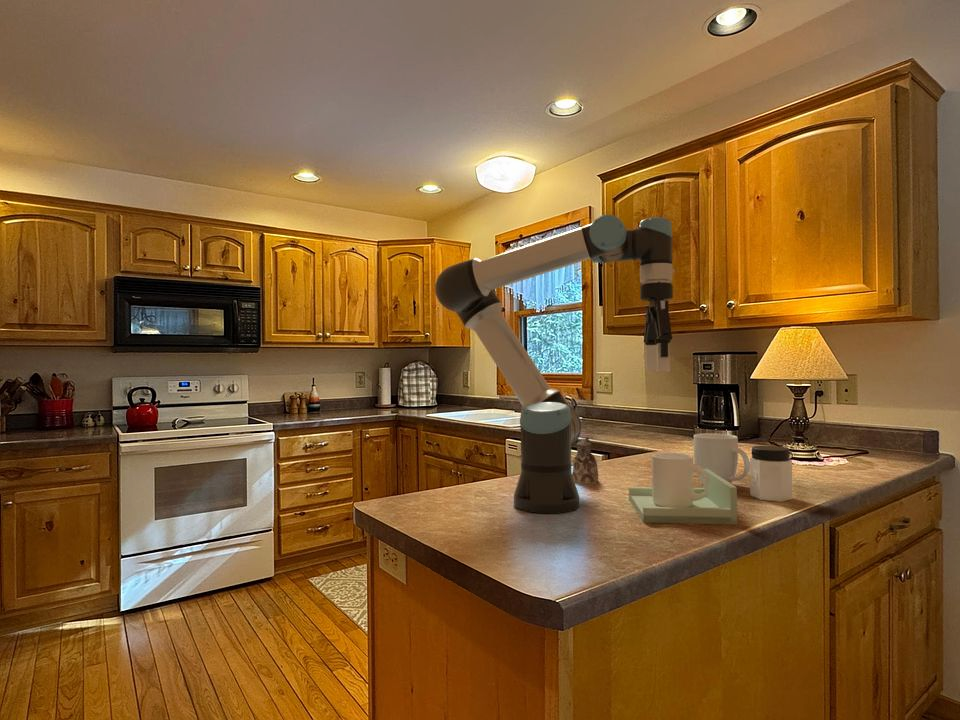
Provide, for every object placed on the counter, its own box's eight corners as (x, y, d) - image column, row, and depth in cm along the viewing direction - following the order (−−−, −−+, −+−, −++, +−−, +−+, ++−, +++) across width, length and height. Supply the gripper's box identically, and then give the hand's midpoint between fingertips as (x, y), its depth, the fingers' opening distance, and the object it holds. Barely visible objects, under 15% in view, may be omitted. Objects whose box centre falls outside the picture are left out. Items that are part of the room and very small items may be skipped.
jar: (744, 493, 140) (744, 445, 140) (776, 493, 140) (776, 444, 140) (764, 502, 131) (763, 451, 131) (798, 501, 131) (798, 450, 131)
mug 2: (761, 488, 145) (760, 437, 145) (736, 494, 139) (736, 441, 139) (709, 478, 158) (709, 432, 158) (685, 483, 151) (684, 435, 152)
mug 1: (701, 514, 116) (700, 462, 116) (646, 504, 124) (645, 456, 124) (715, 505, 122) (714, 456, 122) (661, 497, 130) (661, 451, 130)
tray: (643, 522, 115) (643, 486, 115) (629, 499, 135) (628, 468, 135) (737, 524, 113) (736, 487, 113) (708, 500, 133) (708, 469, 133)
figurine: (567, 482, 155) (567, 438, 155) (578, 477, 161) (577, 435, 161) (592, 485, 151) (591, 440, 151) (602, 480, 157) (601, 437, 157)
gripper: (685, 275, 123) (686, 372, 122) (661, 289, 147) (662, 370, 147) (650, 276, 123) (651, 372, 123) (632, 290, 148) (632, 370, 148)
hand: (657, 371), depth 135 cm, fingers open, 13 cm apart
